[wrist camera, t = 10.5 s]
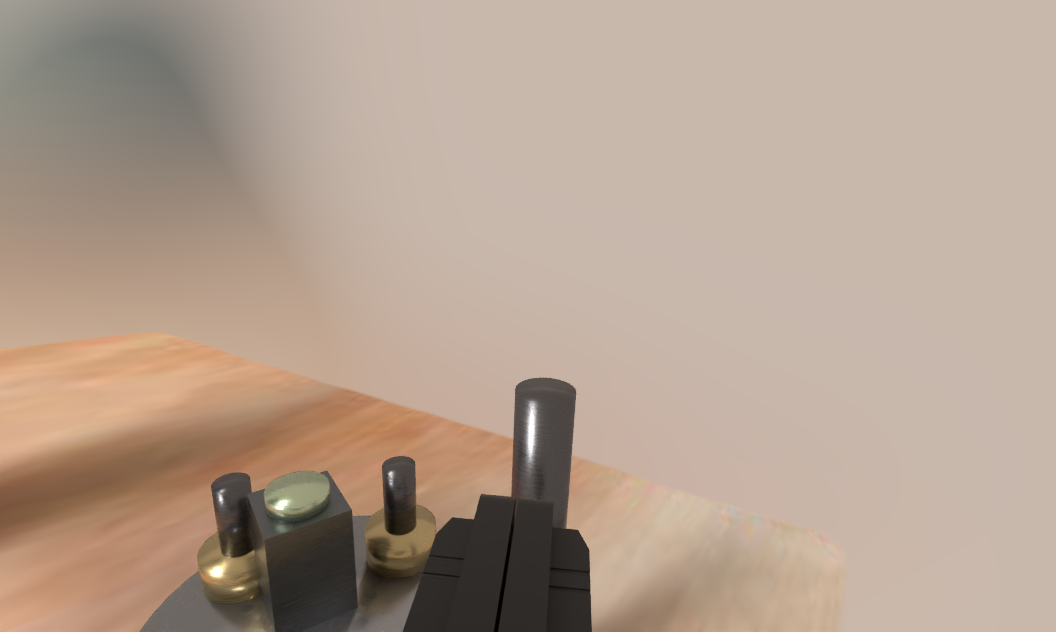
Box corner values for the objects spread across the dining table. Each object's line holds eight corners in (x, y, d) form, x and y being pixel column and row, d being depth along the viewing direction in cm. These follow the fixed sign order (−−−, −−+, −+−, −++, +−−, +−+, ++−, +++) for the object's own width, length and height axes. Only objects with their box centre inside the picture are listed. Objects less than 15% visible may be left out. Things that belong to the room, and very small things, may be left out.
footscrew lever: (173, 821, 20) (97, 478, 16) (196, 706, 24) (141, 408, 20) (572, 696, 25) (597, 411, 21) (538, 618, 29) (553, 366, 25)
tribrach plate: (116, 615, 31) (84, 475, 28) (407, 510, 40) (404, 398, 38) (125, 983, 18) (67, 788, 15) (553, 699, 27) (564, 549, 25)
